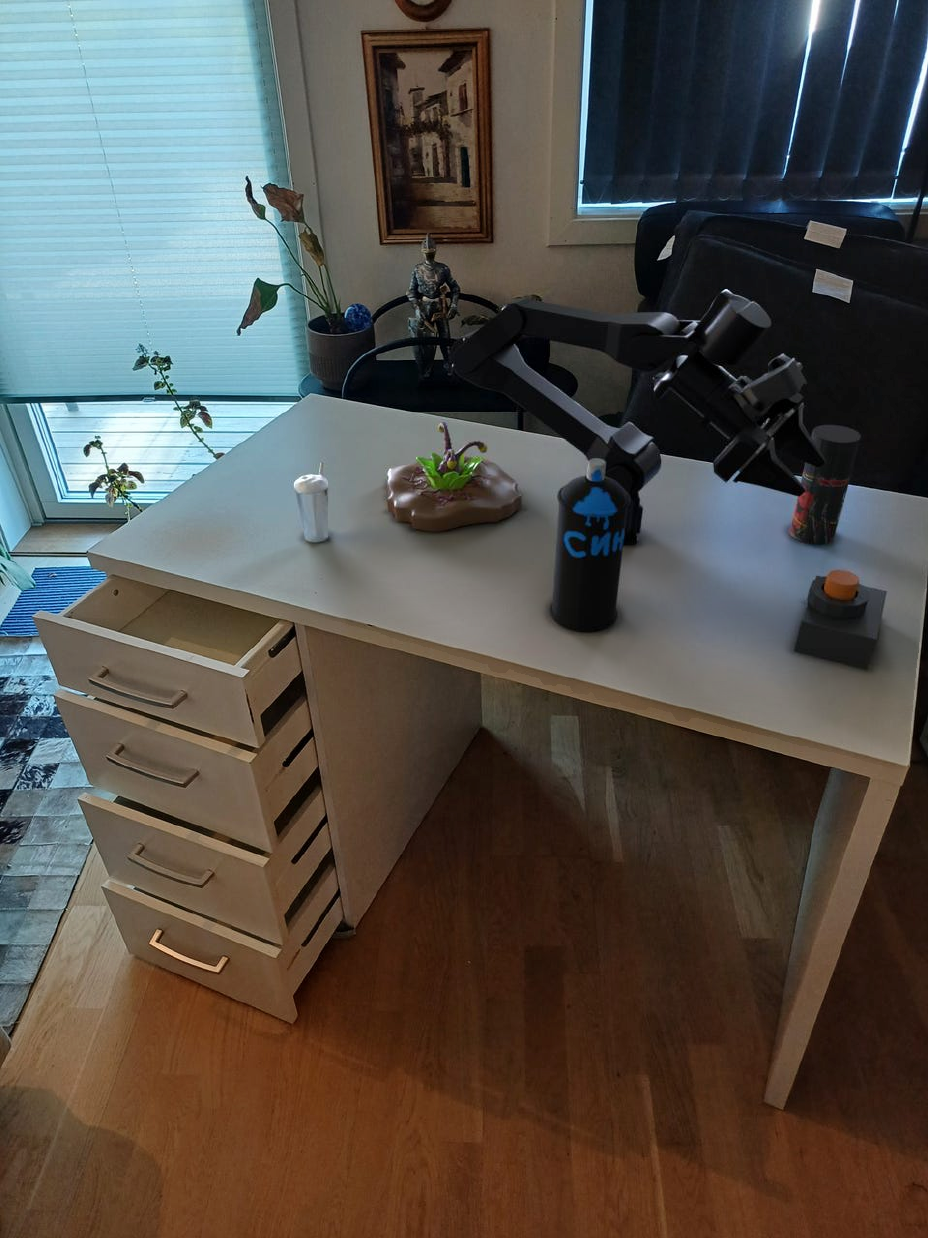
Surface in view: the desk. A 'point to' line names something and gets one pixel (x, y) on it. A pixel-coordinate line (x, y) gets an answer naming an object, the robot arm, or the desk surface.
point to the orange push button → (841, 584)
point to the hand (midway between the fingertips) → (813, 478)
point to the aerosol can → (589, 550)
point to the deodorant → (825, 485)
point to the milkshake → (313, 505)
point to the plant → (451, 490)
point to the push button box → (841, 625)
